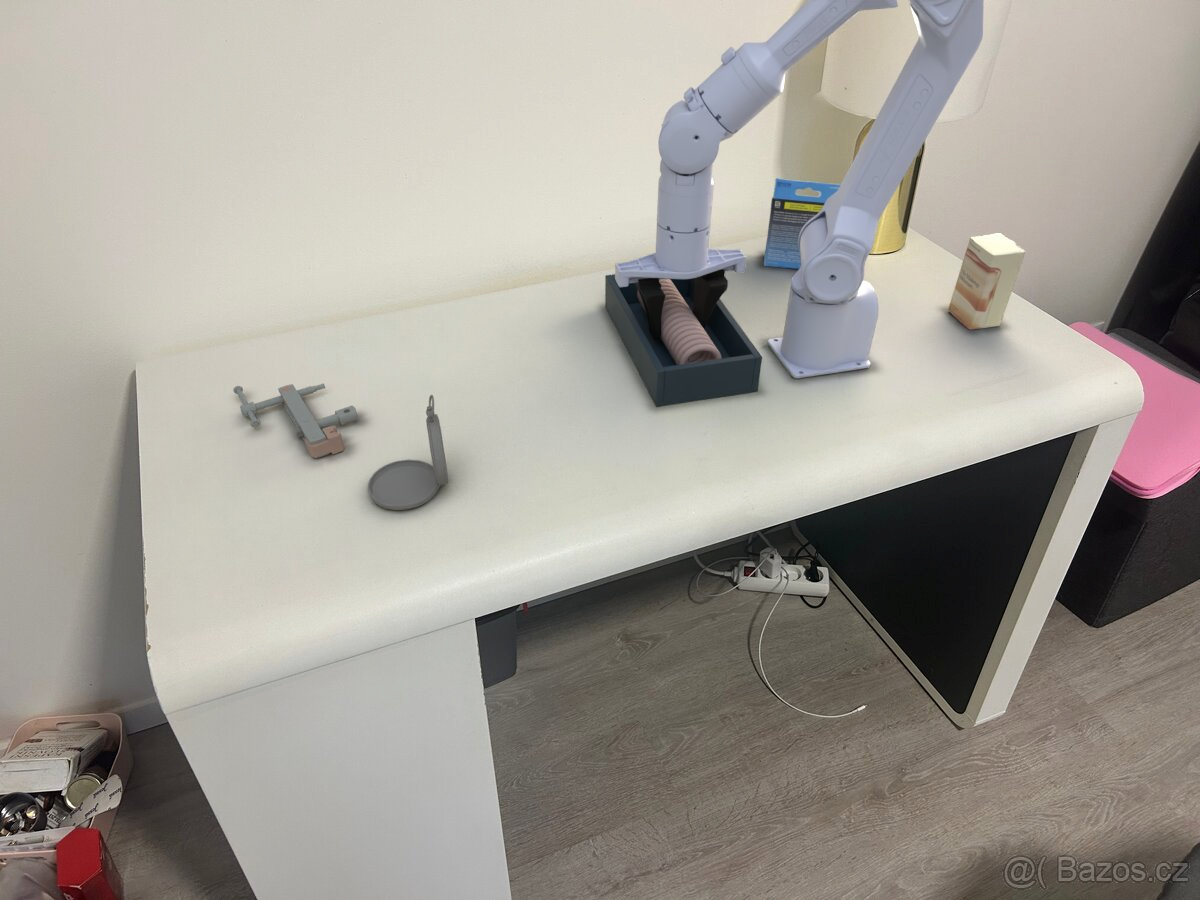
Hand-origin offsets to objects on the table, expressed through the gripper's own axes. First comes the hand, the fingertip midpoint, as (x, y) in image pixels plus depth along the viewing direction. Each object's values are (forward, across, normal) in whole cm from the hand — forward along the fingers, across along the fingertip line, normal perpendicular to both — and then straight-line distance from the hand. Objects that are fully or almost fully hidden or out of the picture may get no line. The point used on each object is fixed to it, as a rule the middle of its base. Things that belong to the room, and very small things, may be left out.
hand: (676, 332), depth 98 cm
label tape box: (+2, -22, -16) cm, 28 cm away
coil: (+2, 0, 0) cm, 2 cm away
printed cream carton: (+2, -38, +3) cm, 38 cm away
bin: (+2, 0, 0) cm, 2 cm away
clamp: (+2, +42, +4) cm, 43 cm away
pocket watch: (+2, +32, +18) cm, 36 cm away
